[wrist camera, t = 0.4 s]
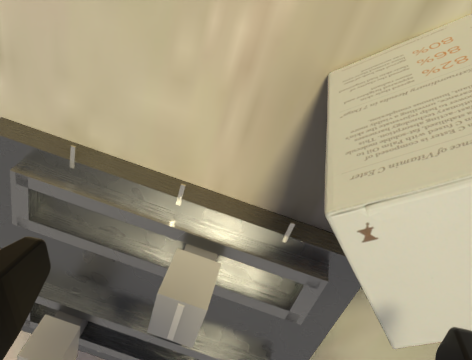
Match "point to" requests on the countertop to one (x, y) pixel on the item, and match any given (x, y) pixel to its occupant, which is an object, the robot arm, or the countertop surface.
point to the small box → (406, 181)
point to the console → (164, 255)
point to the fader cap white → (54, 338)
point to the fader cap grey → (184, 295)
